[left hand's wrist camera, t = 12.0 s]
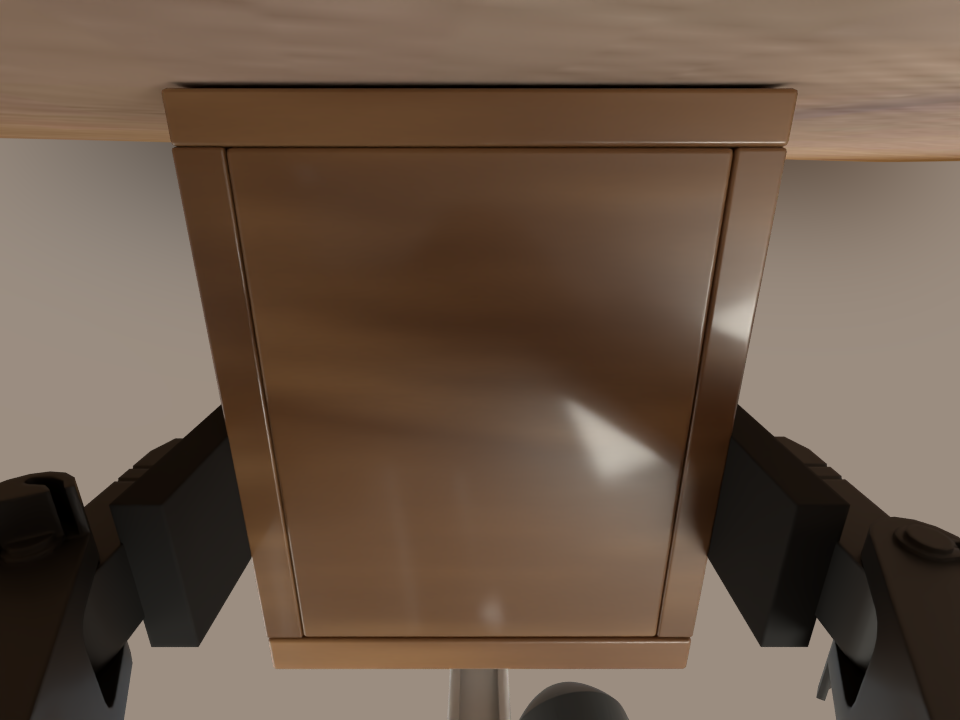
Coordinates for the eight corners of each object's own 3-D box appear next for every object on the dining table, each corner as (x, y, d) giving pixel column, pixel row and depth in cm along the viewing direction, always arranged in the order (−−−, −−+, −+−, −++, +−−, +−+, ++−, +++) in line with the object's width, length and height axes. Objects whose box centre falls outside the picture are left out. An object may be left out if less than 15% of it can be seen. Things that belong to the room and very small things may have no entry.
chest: (597, 141, 19) (578, 389, 23) (361, 141, 19) (380, 389, 23) (801, 87, 7) (693, 638, 11) (158, 87, 7) (265, 638, 11)
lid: (576, 384, 24) (564, 540, 27) (382, 384, 24) (394, 540, 27) (693, 640, 11) (644, 885, 14) (266, 640, 11) (314, 885, 14)
